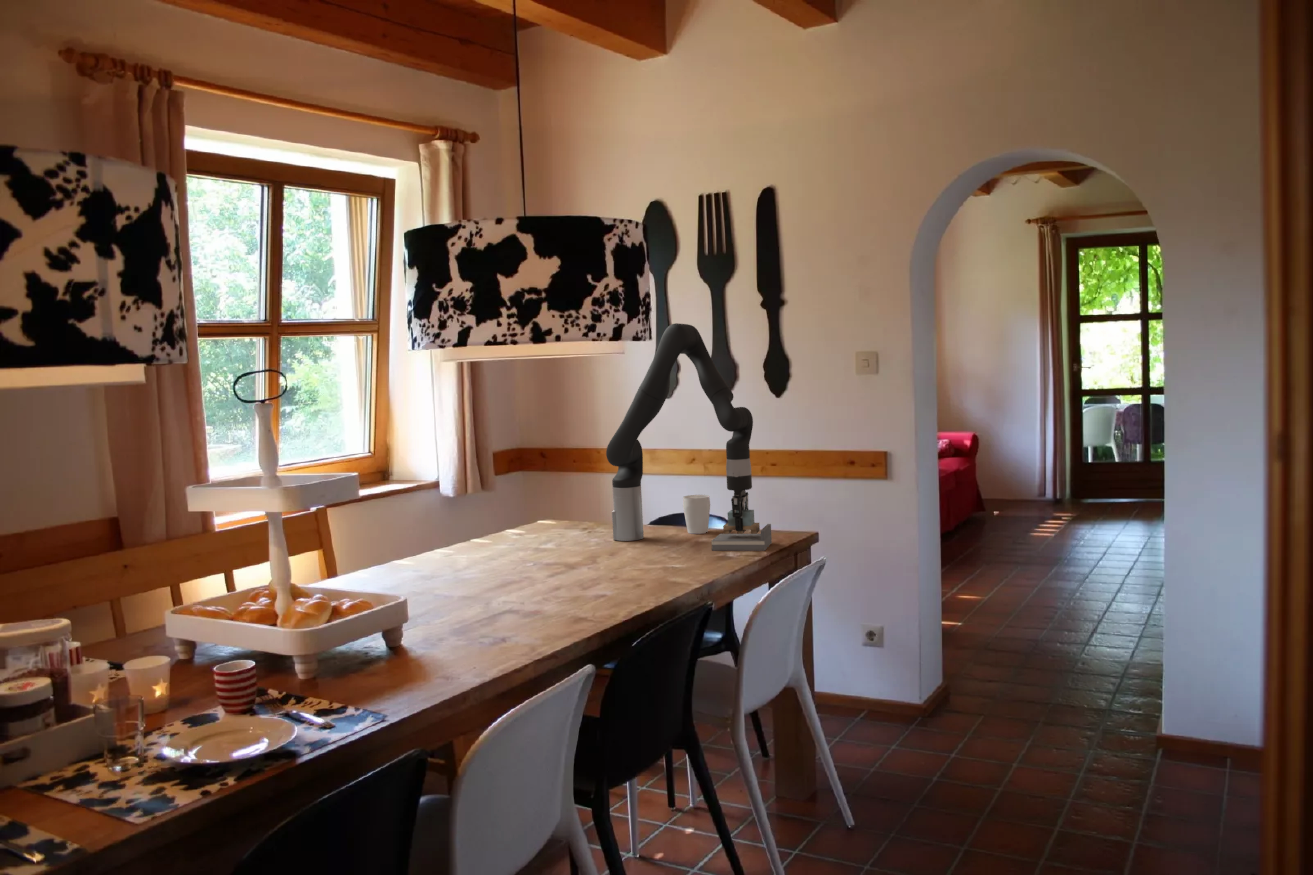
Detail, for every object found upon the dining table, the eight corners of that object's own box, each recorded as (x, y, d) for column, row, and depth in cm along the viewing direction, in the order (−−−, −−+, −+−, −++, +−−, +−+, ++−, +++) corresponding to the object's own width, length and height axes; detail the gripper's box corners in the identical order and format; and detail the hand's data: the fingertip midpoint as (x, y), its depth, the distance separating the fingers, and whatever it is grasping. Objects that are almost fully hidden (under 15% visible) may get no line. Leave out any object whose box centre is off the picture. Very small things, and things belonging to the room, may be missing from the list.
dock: (711, 550, 316) (711, 530, 316) (720, 543, 328) (719, 524, 328) (764, 550, 312) (763, 530, 312) (771, 543, 324) (770, 523, 323)
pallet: (723, 533, 319) (722, 512, 318) (727, 530, 324) (726, 510, 323) (756, 533, 316) (755, 512, 315) (759, 530, 321) (758, 509, 321)
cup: (679, 532, 352) (677, 496, 351) (703, 529, 356) (702, 493, 355) (691, 535, 344) (690, 499, 343) (716, 532, 348) (714, 496, 347)
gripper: (731, 471, 326) (734, 525, 328) (721, 476, 313) (724, 533, 314) (755, 470, 324) (757, 525, 326) (746, 476, 311) (749, 533, 312)
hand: (741, 528), depth 320 cm, fingers closed on pallet, 5 cm apart
